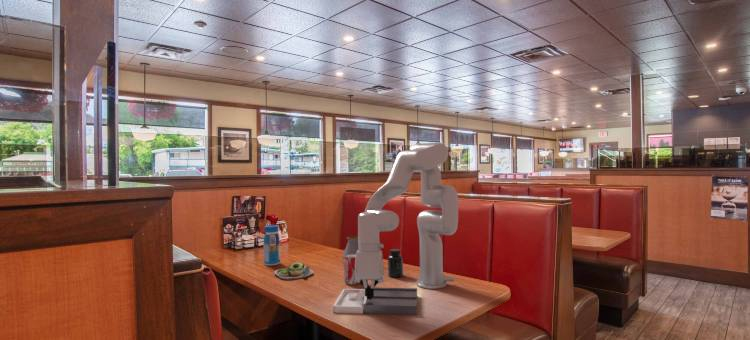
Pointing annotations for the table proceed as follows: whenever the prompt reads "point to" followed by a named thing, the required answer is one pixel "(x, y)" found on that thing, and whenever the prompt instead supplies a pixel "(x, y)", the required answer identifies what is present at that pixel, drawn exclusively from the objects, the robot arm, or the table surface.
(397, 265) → the supplement bottle
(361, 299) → the grey square block
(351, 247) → the coffee pot
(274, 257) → the beverage bottle
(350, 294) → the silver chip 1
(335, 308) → the tray
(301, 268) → the salad plate
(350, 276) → the soda can
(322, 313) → the table surface
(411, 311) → the slot block
